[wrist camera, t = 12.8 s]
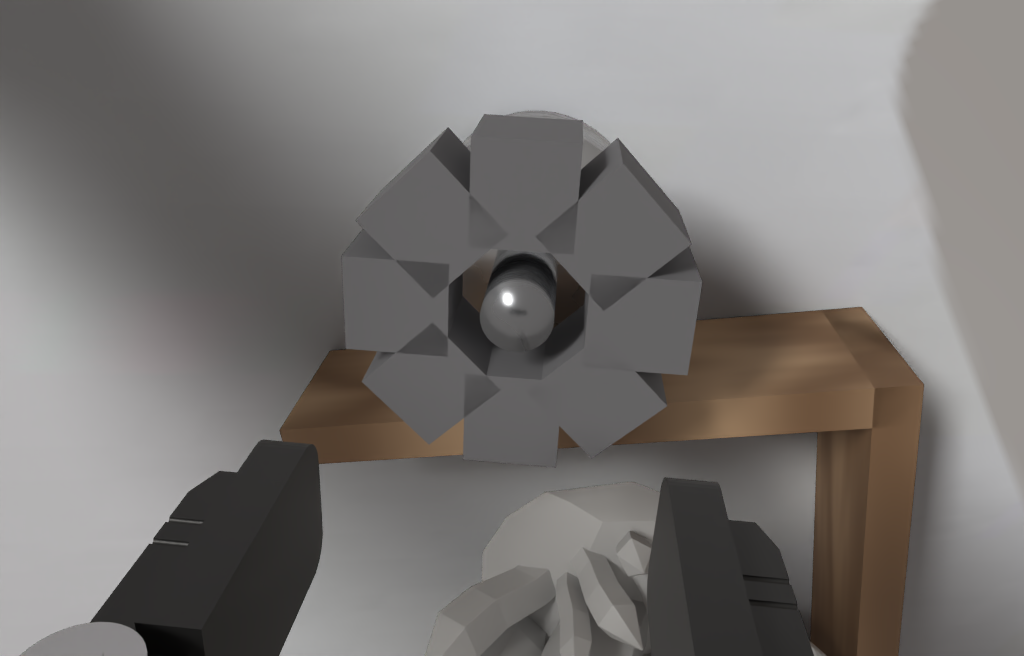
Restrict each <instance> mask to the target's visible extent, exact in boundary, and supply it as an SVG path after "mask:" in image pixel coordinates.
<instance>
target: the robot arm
mask: <svg viewBox="0 0 1024 656" xmlns="http://www.w3.org/2000/svg"><path fill="white" fill-rule="evenodd" d="M322 535H323V530H322V512H321V494H320V477H319V460H318V453H317V449H316V447H315V445H313V444H305V443H294V442H283V441H272V440H261V441H260V442H258V443H257V445H256V446H255V447H254V449H253V450H252V452H251V453H250V455H249V456H248V458H247V459H246V461H245V462H244V463H243V465H242V466H241V468H240V469H239V471H238V472H237V473H236V472H225V471H219V472H217V473H216V474H214V475H213V476H211V477H210V478H208V479H207V480H205V481H204V482H202V483H201V484H199V485H198V486H196V487H195V488H193V489H192V490H190V491H189V492H188V493H187V495H186V496H185V497H184V499H183V500H182V501H181V503H180V504H179V505H178V507H177V508H176V509H175V510H174V512H173V513H172V514H171V516H170V519H169V522H165V524H164V525H163V526H162V528H161V529H160V530H159V532H158V533H157V534H156V536H155V537H154V540H153V544H149V545H148V546H147V548H146V549H145V550H144V552H143V553H142V554H141V556H140V557H139V558H138V560H137V561H136V562H135V563H134V565H133V566H132V567H131V569H130V570H129V571H128V573H127V574H126V575H125V577H124V578H123V579H122V581H121V582H120V583H119V585H118V586H117V587H116V589H115V590H114V591H113V593H112V594H111V595H110V597H109V598H108V599H107V601H106V602H105V603H104V605H103V606H102V607H101V609H100V610H99V611H98V613H97V614H96V615H95V616H94V618H93V619H92V620H91V622H90V623H85V624H80V625H75V626H72V627H69V628H66V629H63V630H60V631H58V632H55V633H53V634H51V635H49V636H47V637H45V638H43V639H42V640H40V641H38V642H37V643H35V644H34V645H32V646H31V647H29V648H28V649H27V650H26V651H24V652H23V653H22V654H21V655H20V656H279V654H280V652H281V650H282V648H283V645H284V643H285V641H286V639H287V636H288V634H289V632H290V630H291V627H292V625H293V623H294V621H295V618H296V616H297V614H298V612H299V609H300V607H301V605H302V603H303V600H304V598H305V596H306V594H307V591H308V589H309V587H310V585H311V582H312V580H313V578H314V576H315V573H316V570H317V567H318V563H319V559H320V554H321V547H322ZM647 612H648V623H649V633H650V644H651V655H652V656H814V654H813V651H812V648H811V645H810V641H809V638H808V635H807V632H806V629H805V626H804V623H803V620H802V617H801V614H800V611H799V610H797V602H796V599H795V596H794V593H793V590H792V587H791V585H789V578H788V575H787V571H786V568H785V565H784V562H783V559H782V556H781V553H780V550H779V549H778V548H777V546H776V545H775V544H774V543H773V542H772V541H771V540H770V539H769V537H768V536H767V535H766V534H765V533H764V532H763V531H762V530H761V528H760V527H759V526H758V525H757V524H756V523H753V522H742V521H732V520H728V516H727V512H726V508H725V505H724V501H723V497H722V493H721V489H720V486H719V484H718V483H717V482H707V481H696V480H685V479H674V478H664V479H663V482H662V486H661V491H660V497H659V503H658V509H657V516H656V522H655V528H654V535H653V541H652V547H651V554H650V560H649V568H648V579H647Z"/></svg>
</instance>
